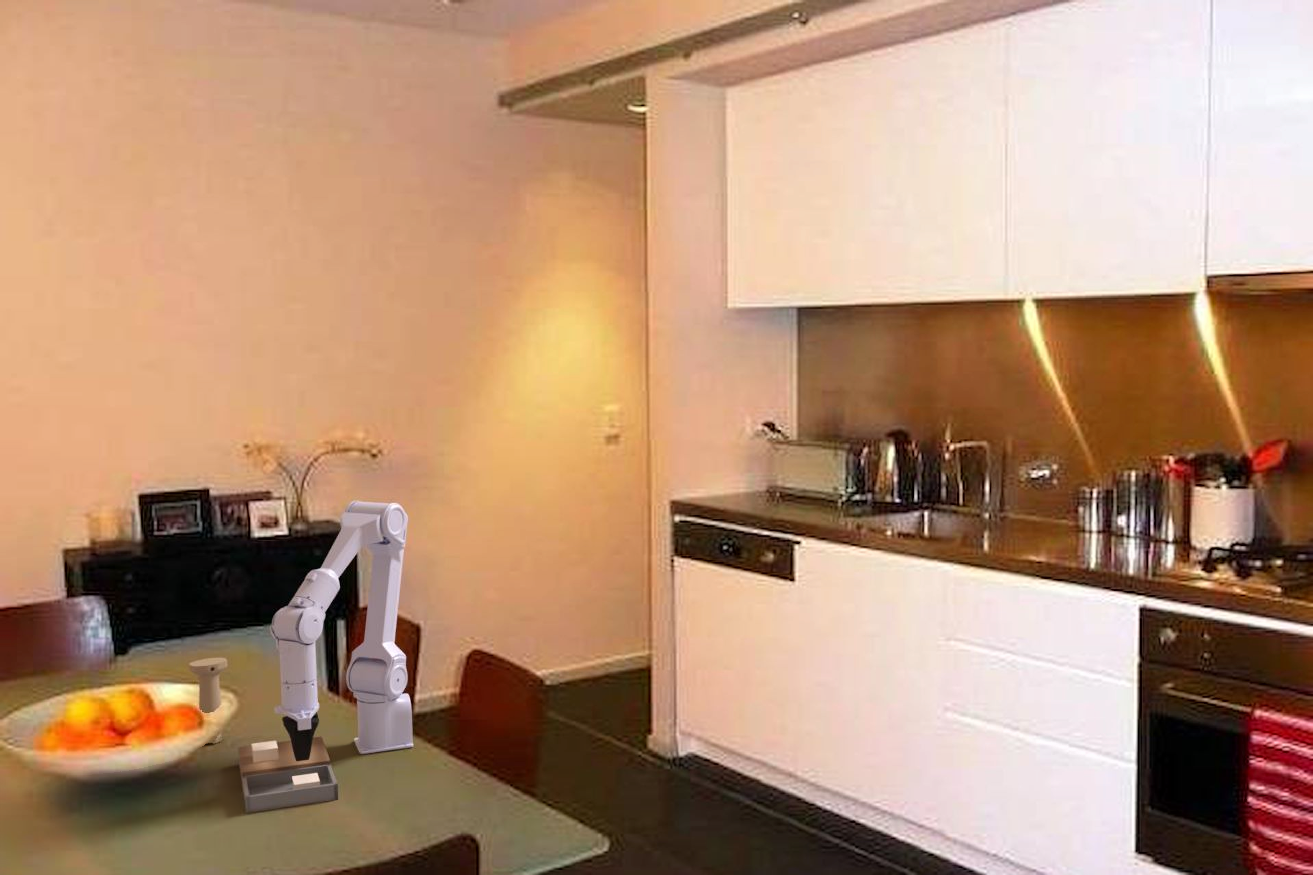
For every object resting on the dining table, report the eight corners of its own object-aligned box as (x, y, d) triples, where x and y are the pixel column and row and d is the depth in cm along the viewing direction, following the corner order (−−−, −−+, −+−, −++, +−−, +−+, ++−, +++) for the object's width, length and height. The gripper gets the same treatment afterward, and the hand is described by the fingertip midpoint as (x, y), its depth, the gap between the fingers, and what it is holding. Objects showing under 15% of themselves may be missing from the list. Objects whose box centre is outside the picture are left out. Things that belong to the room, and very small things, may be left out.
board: (322, 752, 217) (321, 736, 217) (330, 777, 205) (330, 760, 205) (238, 764, 212) (238, 747, 212) (242, 790, 200) (241, 772, 200)
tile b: (276, 751, 209) (276, 740, 209) (278, 759, 206) (277, 747, 206) (252, 754, 208) (251, 743, 208) (253, 762, 204) (252, 751, 204)
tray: (331, 778, 205) (330, 763, 205) (338, 799, 196) (337, 784, 196) (242, 790, 200) (242, 776, 200) (246, 812, 191) (245, 797, 191)
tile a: (319, 780, 197) (320, 793, 197) (317, 772, 201) (317, 784, 201) (294, 784, 196) (294, 796, 196) (291, 776, 199) (292, 788, 199)
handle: (234, 741, 224) (230, 661, 222) (198, 749, 220) (194, 667, 218) (225, 734, 228) (221, 655, 226) (190, 742, 224) (186, 662, 222)
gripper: (270, 670, 207) (273, 748, 208) (276, 694, 193) (280, 777, 195) (313, 665, 209) (316, 742, 211) (322, 688, 196) (326, 771, 197)
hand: (302, 759), depth 203 cm, fingers closed
